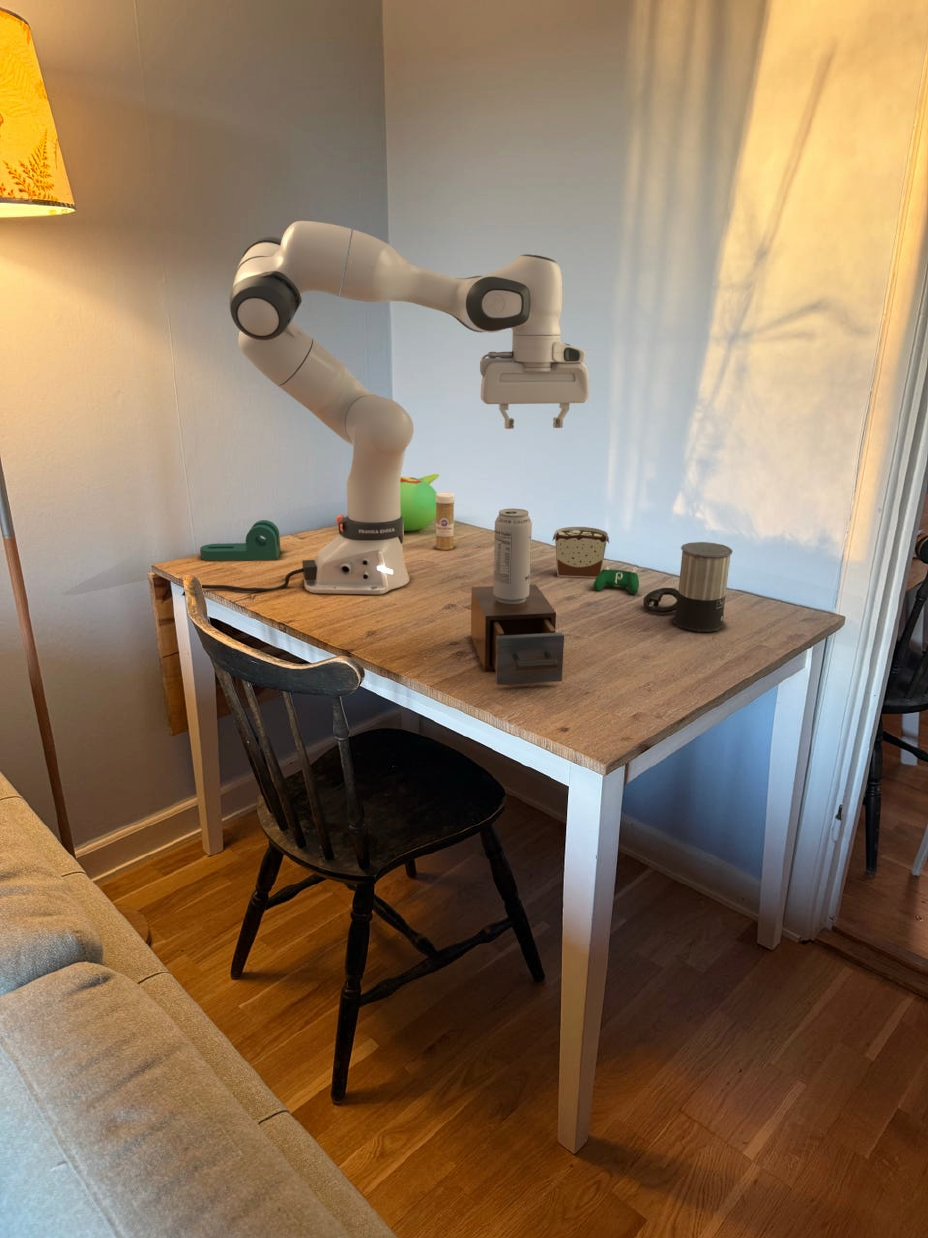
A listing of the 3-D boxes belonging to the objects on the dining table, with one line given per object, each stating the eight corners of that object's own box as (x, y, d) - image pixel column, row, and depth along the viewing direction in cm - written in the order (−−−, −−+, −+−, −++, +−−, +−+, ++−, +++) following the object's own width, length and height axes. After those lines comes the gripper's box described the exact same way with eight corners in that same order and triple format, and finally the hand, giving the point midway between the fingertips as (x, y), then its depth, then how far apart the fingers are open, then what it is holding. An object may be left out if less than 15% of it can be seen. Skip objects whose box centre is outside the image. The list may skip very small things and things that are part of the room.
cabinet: (553, 667, 136) (556, 612, 133) (484, 670, 135) (485, 616, 131) (533, 634, 150) (535, 584, 147) (470, 637, 148) (471, 587, 145)
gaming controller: (637, 600, 173) (642, 575, 175) (637, 592, 169) (641, 566, 172) (594, 595, 176) (598, 571, 178) (592, 587, 172) (597, 562, 175)
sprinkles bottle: (437, 550, 200) (436, 496, 196) (434, 545, 205) (434, 492, 200) (455, 549, 201) (455, 495, 196) (452, 544, 205) (452, 491, 201)
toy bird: (364, 535, 213) (362, 479, 208) (381, 520, 228) (379, 467, 223) (433, 539, 210) (432, 482, 205) (445, 523, 226) (445, 469, 221)
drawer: (570, 694, 125) (572, 647, 122) (502, 698, 123) (503, 650, 120) (541, 648, 142) (543, 605, 139) (482, 651, 140) (482, 608, 137)
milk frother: (721, 636, 150) (731, 557, 144) (634, 624, 155) (641, 548, 150) (726, 611, 162) (736, 537, 157) (646, 601, 167) (652, 529, 162)
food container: (605, 569, 187) (608, 526, 183) (606, 578, 181) (610, 534, 178) (550, 567, 188) (552, 525, 184) (550, 576, 182) (552, 532, 179)
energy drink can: (534, 603, 137) (537, 515, 132) (499, 606, 135) (502, 517, 130) (521, 592, 142) (524, 506, 137) (488, 595, 141) (490, 508, 136)
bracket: (280, 551, 199) (278, 519, 196) (276, 559, 192) (274, 527, 190) (204, 552, 198) (201, 520, 195) (198, 561, 191) (194, 527, 188)
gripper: (483, 352, 147) (482, 431, 152) (594, 352, 150) (589, 429, 155) (477, 350, 153) (476, 426, 158) (584, 350, 156) (580, 424, 161)
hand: (533, 427), depth 156 cm, fingers open, 8 cm apart
